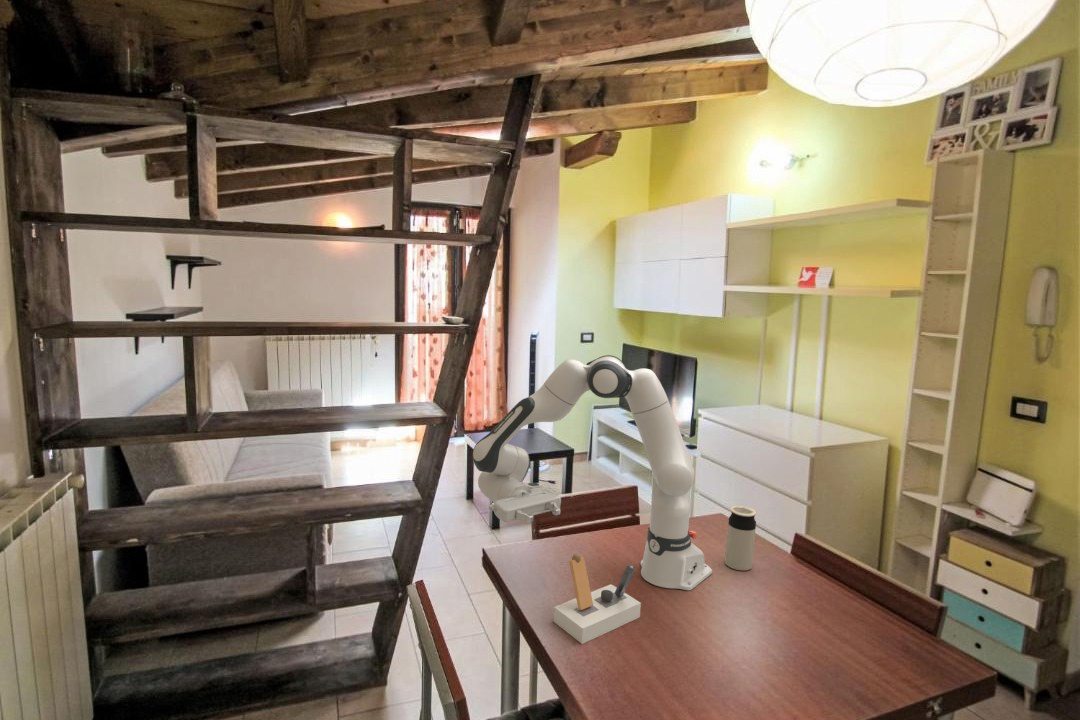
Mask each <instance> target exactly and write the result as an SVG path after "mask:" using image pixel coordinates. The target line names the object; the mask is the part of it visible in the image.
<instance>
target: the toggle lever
mask: <svg viewBox="0 0 1080 720" xmlns="http://www.w3.org/2000/svg"><path fill="white" fill-rule="evenodd" d="M635 572H636V568H635V566H634V565H633V564H627V565H626V566H625V569H624V571H623V574H622V575H621V578H620V580H619V582H618V584H617V586H616V588H617V589H616V591H615V594H616V596H617V597H618V598H619V597H622V596H623V594H624V593H626V590H627V588H628V585H629V584H630V581H631V579H632V577H633V575H634V573H635Z"/></svg>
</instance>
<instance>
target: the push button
mask: <svg viewBox="0 0 1080 720" xmlns="http://www.w3.org/2000/svg"><path fill="white" fill-rule="evenodd" d="M601 599H602V600H604V601H611V600H612V599H613V593H612V592H611V591H609V590H603V591H602V592H601Z"/></svg>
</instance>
